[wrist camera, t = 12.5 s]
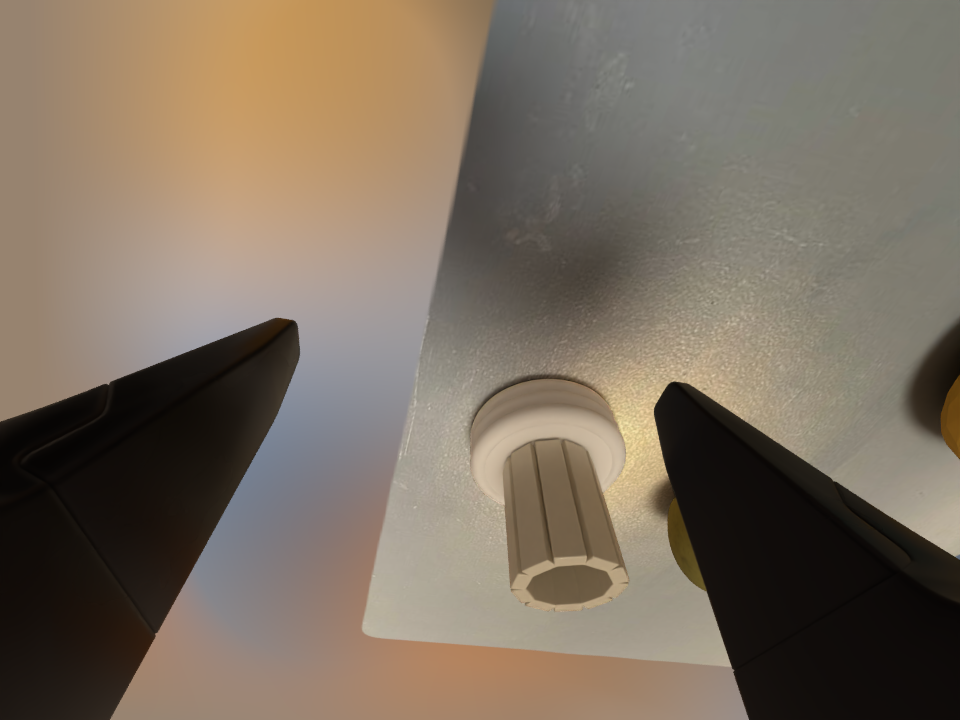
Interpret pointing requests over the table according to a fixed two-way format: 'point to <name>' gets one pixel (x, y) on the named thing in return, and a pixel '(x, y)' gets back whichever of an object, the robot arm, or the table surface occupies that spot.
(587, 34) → the table surface
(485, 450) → the thick white disc
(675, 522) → the apple
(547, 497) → the fluted vase
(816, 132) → the table surface
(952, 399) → the toy
